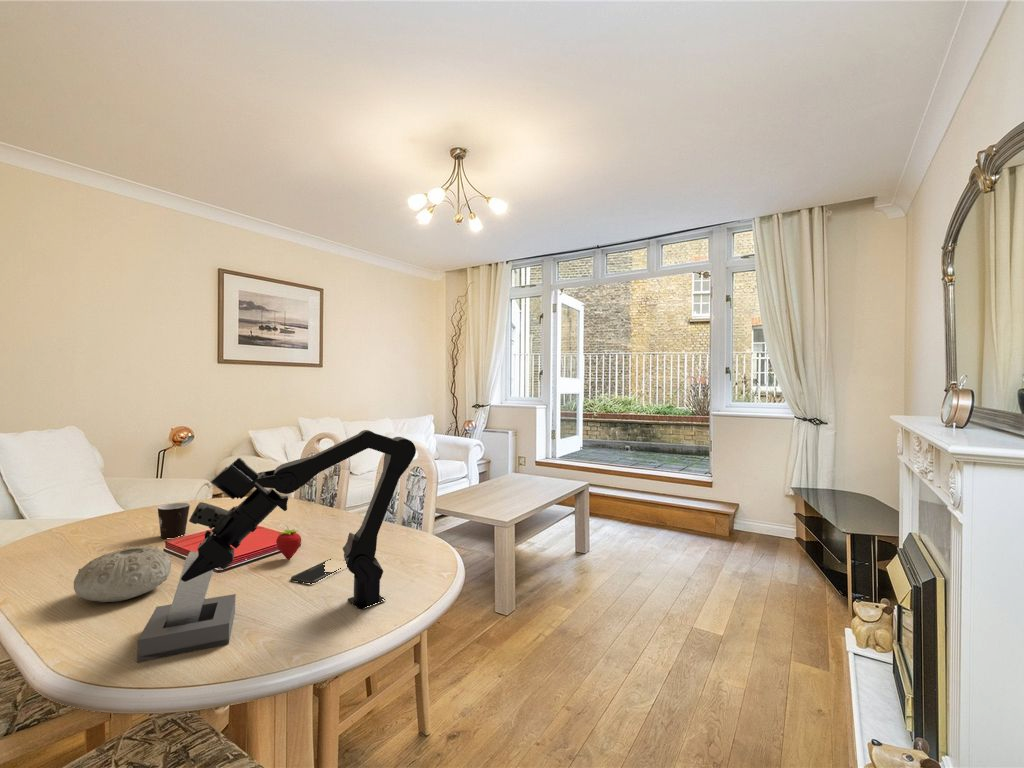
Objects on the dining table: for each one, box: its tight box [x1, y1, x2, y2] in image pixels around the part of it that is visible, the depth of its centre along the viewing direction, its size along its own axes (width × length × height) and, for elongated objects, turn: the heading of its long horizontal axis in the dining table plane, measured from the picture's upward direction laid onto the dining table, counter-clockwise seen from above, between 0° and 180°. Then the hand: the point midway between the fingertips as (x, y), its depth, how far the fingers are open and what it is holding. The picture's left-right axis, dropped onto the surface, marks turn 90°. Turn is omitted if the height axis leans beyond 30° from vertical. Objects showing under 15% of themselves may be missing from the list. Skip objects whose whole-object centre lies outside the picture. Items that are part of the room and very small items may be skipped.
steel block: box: [165, 551, 214, 628], centre depth 91 cm, size 5×5×13 cm
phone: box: [290, 558, 341, 584], centre depth 123 cm, size 8×1×15 cm
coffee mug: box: [157, 502, 191, 540], centre depth 149 cm, size 12×9×10 cm
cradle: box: [136, 593, 237, 663], centre depth 91 cm, size 14×14×4 cm
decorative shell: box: [73, 545, 172, 603], centre depth 108 cm, size 18×18×10 cm
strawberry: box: [275, 525, 302, 560], centre depth 132 cm, size 6×8×10 cm
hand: (185, 575), depth 90 cm, fingers closed on steel block, 5 cm apart
